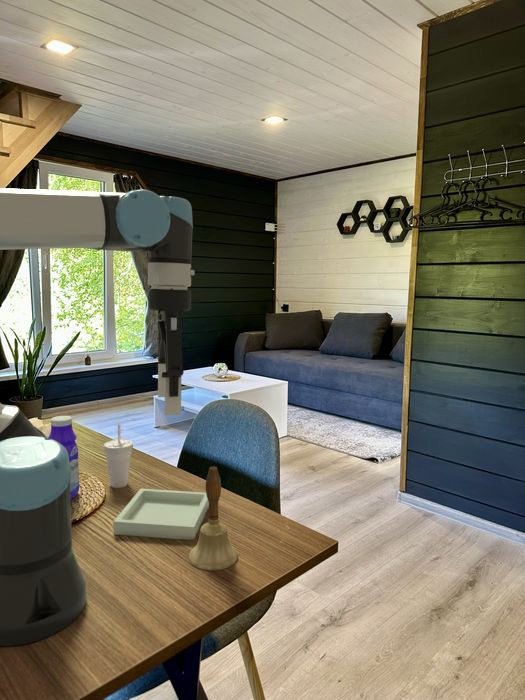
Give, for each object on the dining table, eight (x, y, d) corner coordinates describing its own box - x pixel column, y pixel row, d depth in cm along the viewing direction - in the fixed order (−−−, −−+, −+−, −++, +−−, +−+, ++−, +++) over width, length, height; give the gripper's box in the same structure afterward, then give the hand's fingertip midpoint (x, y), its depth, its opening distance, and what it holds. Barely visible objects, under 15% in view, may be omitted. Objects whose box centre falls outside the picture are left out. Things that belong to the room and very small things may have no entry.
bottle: (70, 504, 104) (68, 422, 102) (43, 503, 105) (40, 422, 102) (83, 490, 112) (81, 413, 109) (58, 489, 112) (55, 412, 109)
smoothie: (137, 480, 118) (136, 421, 116) (127, 491, 112) (126, 429, 110) (110, 478, 119) (109, 420, 117) (99, 489, 112) (98, 428, 110)
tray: (193, 540, 91) (194, 527, 91) (113, 534, 93) (113, 521, 92) (210, 504, 106) (210, 492, 106) (140, 499, 108) (140, 488, 107)
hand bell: (230, 574, 81) (232, 479, 79) (181, 567, 83) (181, 473, 81) (242, 547, 89) (244, 461, 87) (197, 542, 91) (198, 456, 89)
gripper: (202, 290, 79) (199, 422, 82) (182, 287, 103) (180, 390, 105) (153, 288, 77) (152, 424, 80) (144, 286, 101) (143, 391, 103)
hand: (168, 405), depth 93 cm, fingers open, 13 cm apart
